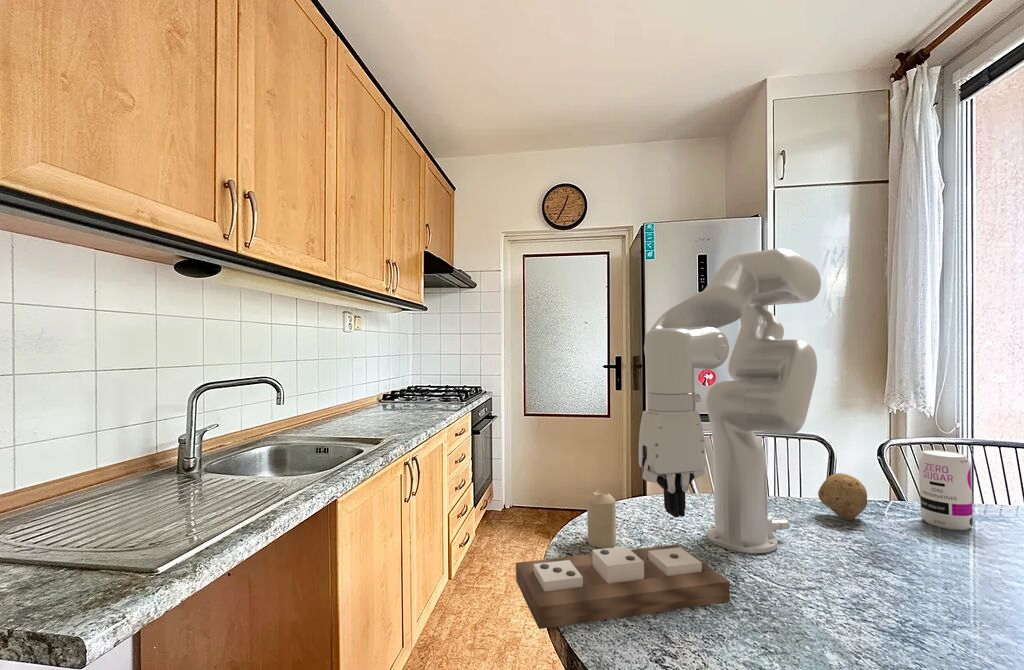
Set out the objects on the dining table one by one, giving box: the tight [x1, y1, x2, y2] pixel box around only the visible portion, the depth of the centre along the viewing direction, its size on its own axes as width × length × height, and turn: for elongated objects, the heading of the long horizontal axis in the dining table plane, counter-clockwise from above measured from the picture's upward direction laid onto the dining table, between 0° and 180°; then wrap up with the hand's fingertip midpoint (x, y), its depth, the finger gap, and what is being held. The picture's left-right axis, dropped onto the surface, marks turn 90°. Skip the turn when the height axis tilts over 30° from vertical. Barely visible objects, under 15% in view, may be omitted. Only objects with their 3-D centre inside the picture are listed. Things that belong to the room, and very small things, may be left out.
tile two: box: [591, 545, 644, 584], centre depth 75 cm, size 6×6×3 cm
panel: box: [515, 544, 731, 630], centre depth 75 cm, size 30×14×3 cm, turn 102°
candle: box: [586, 489, 617, 549], centre depth 94 cm, size 6×6×10 cm
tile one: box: [648, 546, 703, 576], centre depth 77 cm, size 6×6×3 cm
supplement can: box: [918, 449, 974, 531], centre depth 101 cm, size 8×8×15 cm
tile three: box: [534, 560, 583, 592], centre depth 73 cm, size 6×6×3 cm
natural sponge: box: [817, 472, 868, 521], centre depth 105 cm, size 9×9×10 cm
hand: (675, 514), depth 78 cm, fingers closed
